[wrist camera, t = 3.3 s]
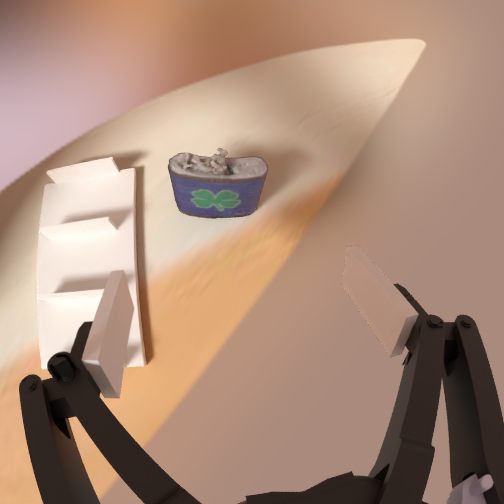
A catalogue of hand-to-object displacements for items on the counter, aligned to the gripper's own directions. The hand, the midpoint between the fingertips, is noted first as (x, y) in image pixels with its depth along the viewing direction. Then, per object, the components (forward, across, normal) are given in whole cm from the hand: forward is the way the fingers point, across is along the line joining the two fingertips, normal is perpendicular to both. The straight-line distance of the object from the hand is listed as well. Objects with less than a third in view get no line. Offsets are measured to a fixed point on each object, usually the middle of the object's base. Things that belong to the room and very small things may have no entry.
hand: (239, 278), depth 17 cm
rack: (+15, -16, -7) cm, 23 cm away
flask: (+19, 0, -3) cm, 19 cm away
